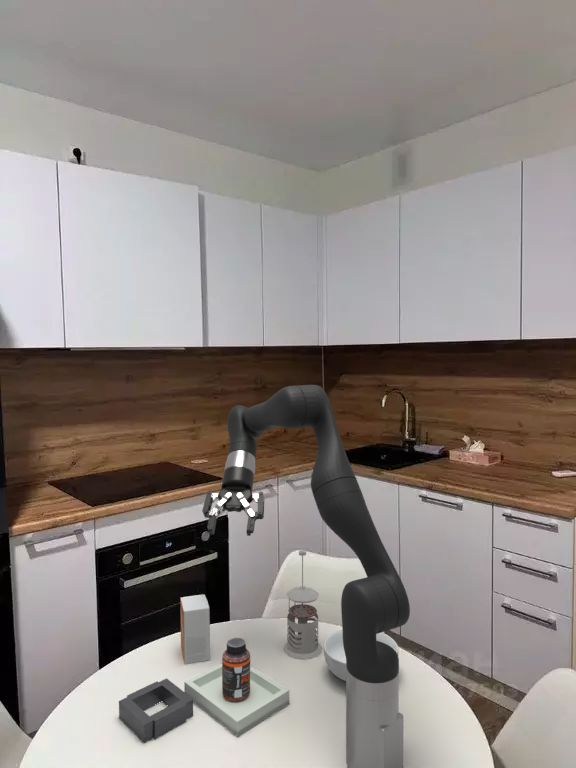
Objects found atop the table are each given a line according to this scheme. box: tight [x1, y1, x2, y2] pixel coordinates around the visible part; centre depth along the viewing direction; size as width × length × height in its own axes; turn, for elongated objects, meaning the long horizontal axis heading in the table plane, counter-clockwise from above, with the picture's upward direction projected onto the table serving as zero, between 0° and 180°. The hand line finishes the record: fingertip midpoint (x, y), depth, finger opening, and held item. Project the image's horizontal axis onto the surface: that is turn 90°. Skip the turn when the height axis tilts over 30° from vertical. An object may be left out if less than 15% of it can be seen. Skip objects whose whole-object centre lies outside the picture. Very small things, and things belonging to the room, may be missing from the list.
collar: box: [118, 678, 194, 744], centre depth 107 cm, size 11×11×4 cm
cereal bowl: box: [323, 629, 399, 682], centre depth 121 cm, size 17×17×7 cm
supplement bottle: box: [221, 637, 251, 702], centre depth 112 cm, size 6×6×11 cm
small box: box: [179, 594, 211, 665], centre depth 130 cm, size 8×6×13 cm
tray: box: [183, 662, 290, 738], centre depth 112 cm, size 18×14×3 cm
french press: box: [282, 549, 323, 660], centre depth 133 cm, size 10×12×25 cm
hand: (230, 533), depth 120 cm, fingers open, 8 cm apart
